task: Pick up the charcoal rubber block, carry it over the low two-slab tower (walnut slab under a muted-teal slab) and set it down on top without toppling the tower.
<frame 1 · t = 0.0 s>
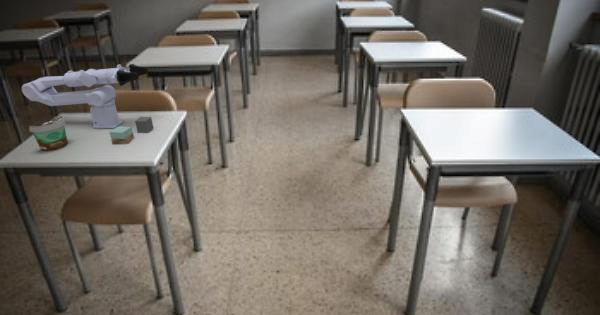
hand: (142, 73, 159), 22 cm above the table, tool horizontal, fingers open, 7 cm apart
walnut slab: (123, 141, 157), on the table, touching teal slab
charcoal block: (145, 130, 165), on the table
food container: (58, 147, 154), on the table
teal slab: (121, 135, 156), point 2 cm above the table, touching walnut slab
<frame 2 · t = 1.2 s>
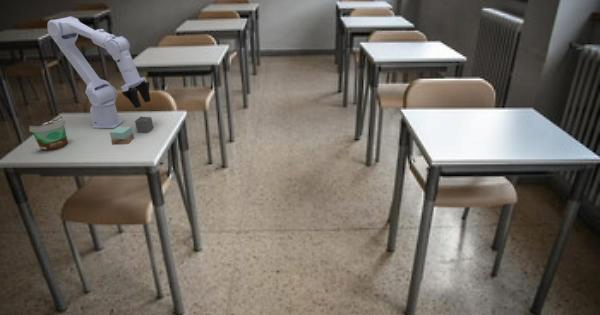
hand: (143, 104, 161), 11 cm above the table, tool tilted 15°, fingers open, 7 cm apart
nothing on the table moved.
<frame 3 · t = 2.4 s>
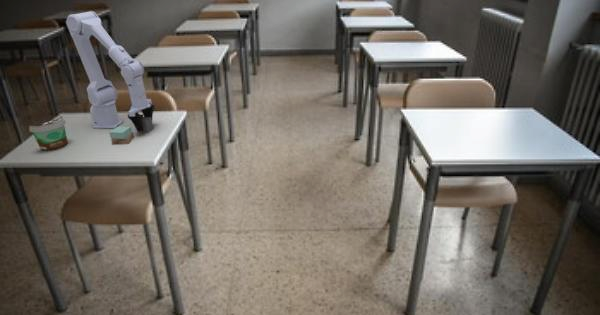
hand: (144, 127, 164), 1 cm above the table, tool pointing down, fingers open, 7 cm apart
walnut slab: (123, 141, 157), on the table
teal slab: (121, 135, 156), point 2 cm above the table
everything else where it was.
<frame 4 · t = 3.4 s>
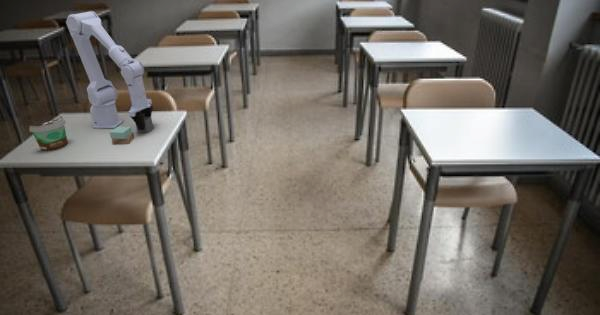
hand: (144, 127, 164), 1 cm above the table, tool pointing down, fingers closed on charcoal block, 4 cm apart
walnut slab: (124, 141, 157), on the table, touching teal slab
charcoal block: (145, 130, 165), on the table, touching gripper
teal slab: (121, 135, 156), point 2 cm above the table, touching walnut slab
everything else where it was.
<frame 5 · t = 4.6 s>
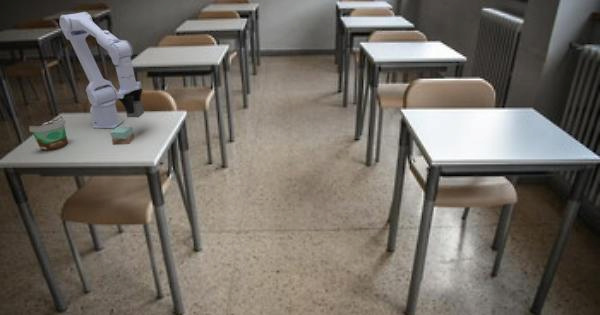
hand: (134, 110, 158), 9 cm above the table, tool pointing down, fingers closed on charcoal block, 4 cm apart
charcoal block: (135, 115, 159), point 8 cm above the table, touching gripper
everything else where it was.
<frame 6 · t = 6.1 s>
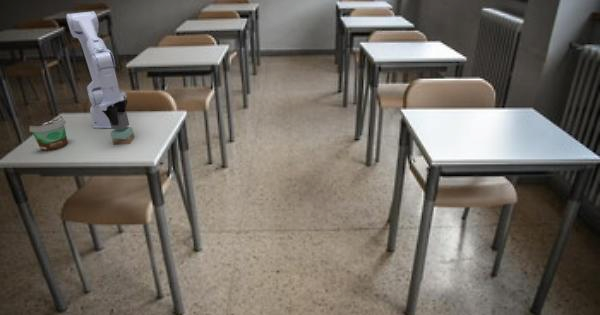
hand: (118, 122, 153), 7 cm above the table, tool pointing down, fingers closed on charcoal block, 4 cm apart
charcoal block: (120, 127, 154), point 6 cm above the table, touching gripper
everything else where it was.
when the fingers open (7 cm above the table, at t = 6.3 s): charcoal block drops 1 cm, point 4 cm above the table.
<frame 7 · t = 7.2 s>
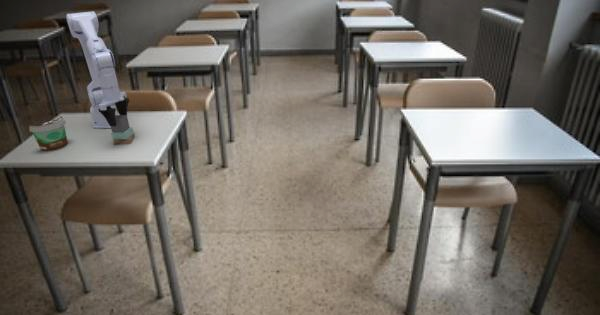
hand: (118, 122, 153), 8 cm above the table, tool pointing down, fingers open, 7 cm apart
charcoal block: (121, 130, 155), point 4 cm above the table
everything else where it was.
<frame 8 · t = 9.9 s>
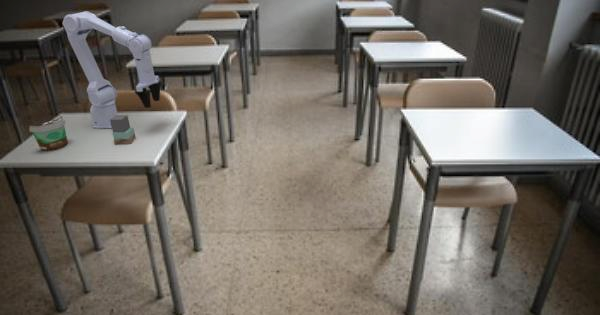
hand: (152, 103, 162), 10 cm above the table, tool pointing down, fingers open, 7 cm apart
at the end: charcoal block 0.3 cm off-centre on the teal slab, point 2.5 cm above the teal slab's base; charcoal block tilted 0°; teal slab 0.1 cm off-centre on the walnut slab, point 2.5 cm above the walnut slab's base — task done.
